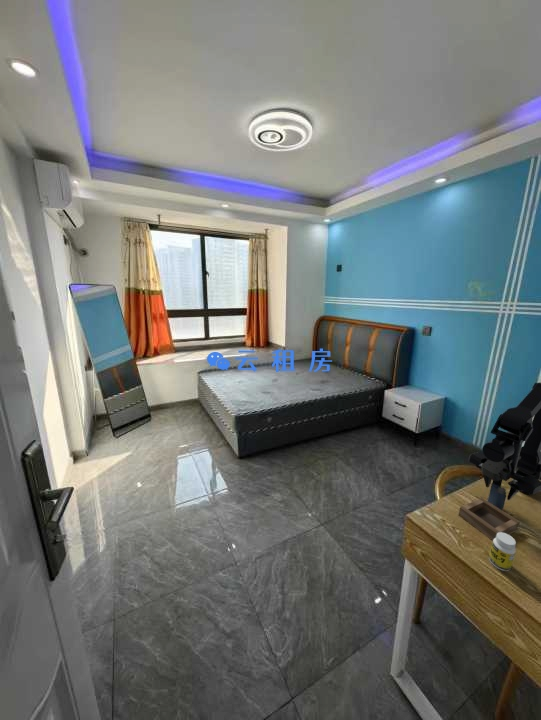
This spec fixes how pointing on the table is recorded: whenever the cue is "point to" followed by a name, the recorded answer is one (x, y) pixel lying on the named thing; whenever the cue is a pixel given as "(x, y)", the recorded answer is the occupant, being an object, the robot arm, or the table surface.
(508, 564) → the supplement bottle
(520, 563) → the table surface
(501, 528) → the socket block
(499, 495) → the vaping device
